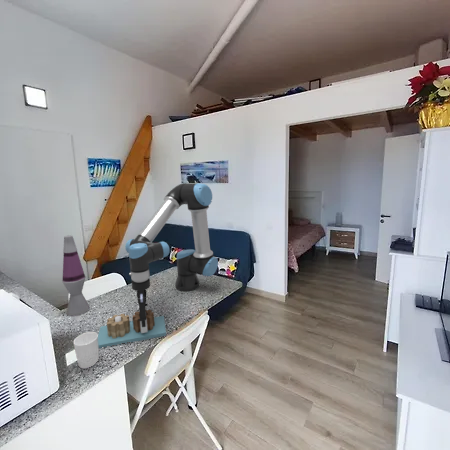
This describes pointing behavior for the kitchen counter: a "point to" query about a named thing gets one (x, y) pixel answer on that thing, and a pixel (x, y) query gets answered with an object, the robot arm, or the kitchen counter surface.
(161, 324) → the gear board
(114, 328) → the maple gear
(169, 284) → the kitchen counter surface
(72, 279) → the lamp
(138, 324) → the walnut gear
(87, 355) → the white cup
